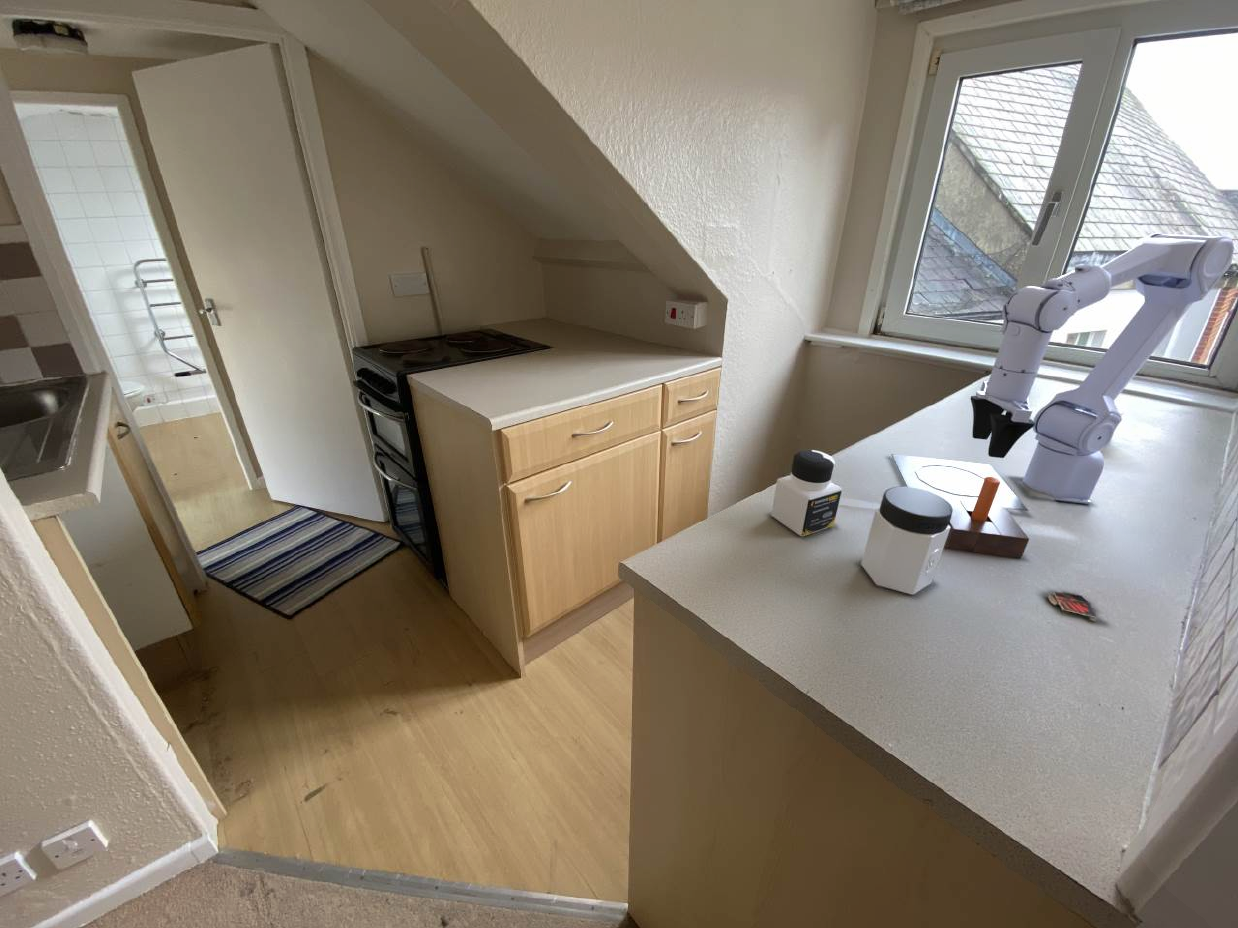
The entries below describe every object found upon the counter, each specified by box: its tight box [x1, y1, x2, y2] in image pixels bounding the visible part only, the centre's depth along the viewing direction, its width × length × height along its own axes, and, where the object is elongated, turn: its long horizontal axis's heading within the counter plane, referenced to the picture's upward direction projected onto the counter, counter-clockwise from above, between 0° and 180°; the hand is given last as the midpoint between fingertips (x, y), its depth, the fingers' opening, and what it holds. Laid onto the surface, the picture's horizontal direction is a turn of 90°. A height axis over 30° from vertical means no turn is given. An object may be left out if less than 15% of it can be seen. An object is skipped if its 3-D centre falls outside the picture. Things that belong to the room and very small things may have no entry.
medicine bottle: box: [771, 449, 843, 537], centre depth 84 cm, size 7×7×12 cm
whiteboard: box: [891, 453, 1029, 512], centre depth 98 cm, size 18×18×1 cm
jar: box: [860, 486, 953, 596], centre depth 72 cm, size 9×8×12 cm
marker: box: [971, 477, 1001, 522], centre depth 81 cm, size 2×2×10 cm
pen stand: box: [944, 498, 1030, 559], centre depth 83 cm, size 10×10×4 cm
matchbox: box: [1046, 591, 1102, 623], centre depth 68 cm, size 5×5×1 cm
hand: (987, 447), depth 89 cm, fingers open, 7 cm apart
